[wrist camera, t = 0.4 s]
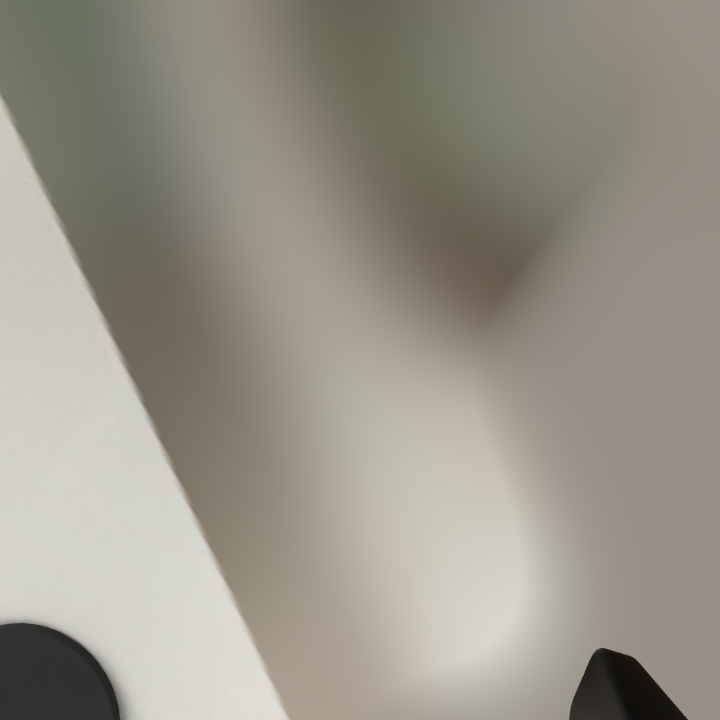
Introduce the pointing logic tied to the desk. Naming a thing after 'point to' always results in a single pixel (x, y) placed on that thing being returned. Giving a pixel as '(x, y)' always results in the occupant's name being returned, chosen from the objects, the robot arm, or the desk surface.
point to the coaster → (50, 678)
